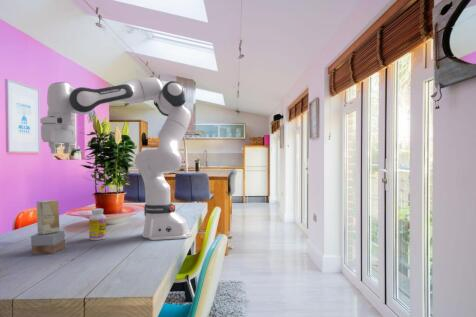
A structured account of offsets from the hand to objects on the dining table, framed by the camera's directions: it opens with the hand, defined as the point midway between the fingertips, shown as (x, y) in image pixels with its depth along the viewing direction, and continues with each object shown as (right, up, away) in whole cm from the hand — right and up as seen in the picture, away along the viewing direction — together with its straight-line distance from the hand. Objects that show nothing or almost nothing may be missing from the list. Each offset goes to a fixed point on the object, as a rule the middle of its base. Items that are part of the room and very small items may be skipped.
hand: (60, 153), depth 136 cm
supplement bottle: (+14, -37, +3) cm, 40 cm away
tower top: (+4, -34, -15) cm, 37 cm away
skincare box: (+4, -31, -14) cm, 34 cm away
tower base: (+4, -38, -14) cm, 40 cm away
